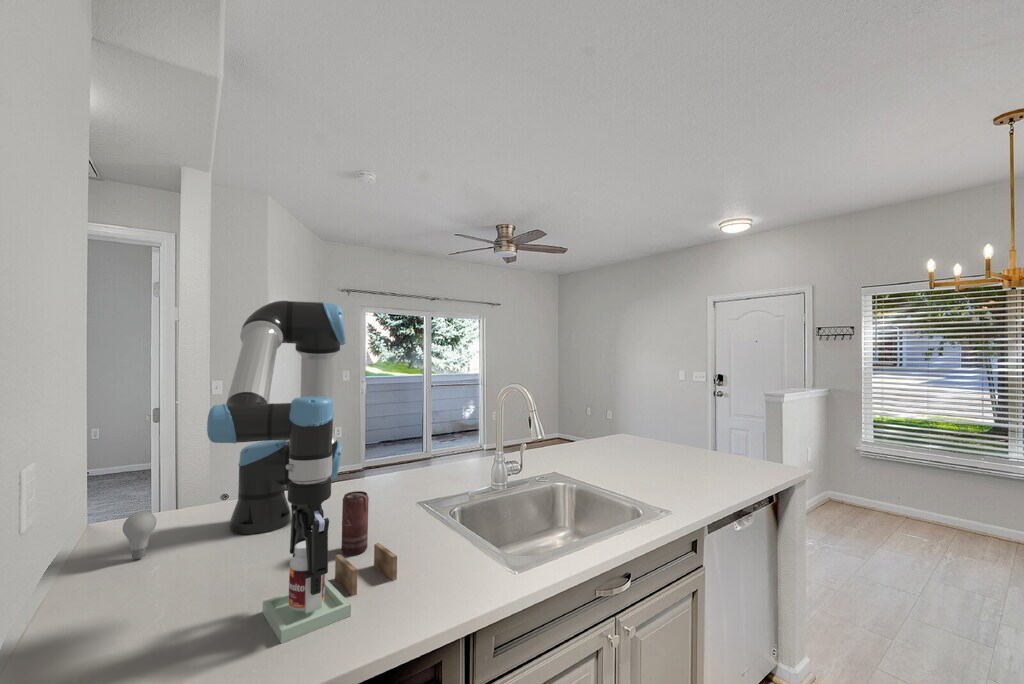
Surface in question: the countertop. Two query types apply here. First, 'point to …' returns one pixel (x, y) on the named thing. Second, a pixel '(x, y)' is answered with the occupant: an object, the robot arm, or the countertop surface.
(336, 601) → the tray
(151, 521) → the lightbulb
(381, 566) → the rack
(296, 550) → the pill bottle
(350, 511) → the can
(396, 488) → the countertop surface
